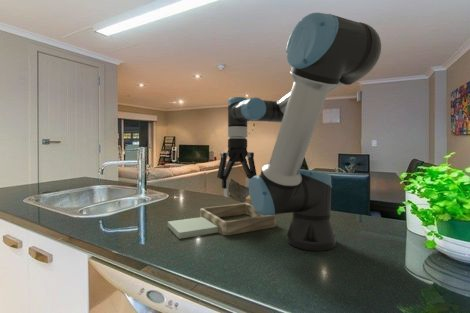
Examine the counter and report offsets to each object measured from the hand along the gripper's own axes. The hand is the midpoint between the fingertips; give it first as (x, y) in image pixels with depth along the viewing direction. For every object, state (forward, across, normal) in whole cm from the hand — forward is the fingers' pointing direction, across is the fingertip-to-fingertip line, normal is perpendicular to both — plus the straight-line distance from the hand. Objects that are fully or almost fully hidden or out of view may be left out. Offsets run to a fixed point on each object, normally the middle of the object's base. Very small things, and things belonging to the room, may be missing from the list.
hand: (237, 195), depth 107 cm
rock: (+1, 0, +3) cm, 4 cm away
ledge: (+11, +18, -1) cm, 21 cm away
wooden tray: (+11, 0, -1) cm, 11 cm away
